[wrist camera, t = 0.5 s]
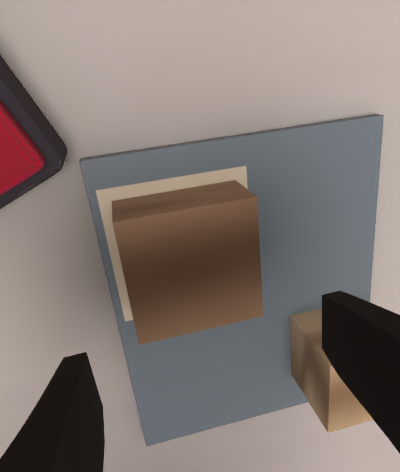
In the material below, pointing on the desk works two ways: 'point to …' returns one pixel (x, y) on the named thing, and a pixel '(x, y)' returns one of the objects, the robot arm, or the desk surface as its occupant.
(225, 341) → the board
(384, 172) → the desk surface
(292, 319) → the oak cube
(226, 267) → the walnut slab
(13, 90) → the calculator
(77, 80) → the desk surface
